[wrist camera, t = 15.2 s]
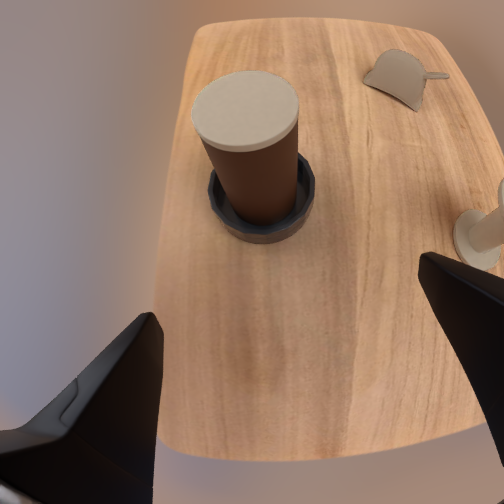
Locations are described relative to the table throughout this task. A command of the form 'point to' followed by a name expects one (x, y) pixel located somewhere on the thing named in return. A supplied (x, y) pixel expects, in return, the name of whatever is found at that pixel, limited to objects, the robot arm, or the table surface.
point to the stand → (480, 235)
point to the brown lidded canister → (252, 142)
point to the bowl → (272, 231)
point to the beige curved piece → (401, 76)
